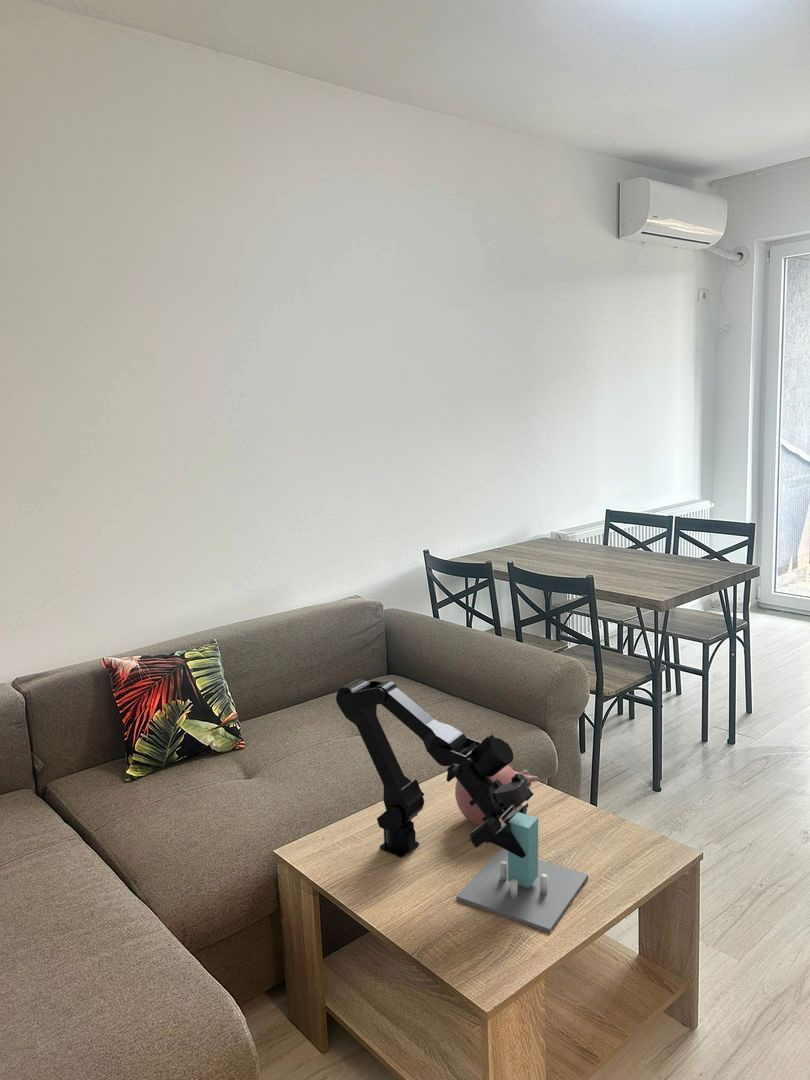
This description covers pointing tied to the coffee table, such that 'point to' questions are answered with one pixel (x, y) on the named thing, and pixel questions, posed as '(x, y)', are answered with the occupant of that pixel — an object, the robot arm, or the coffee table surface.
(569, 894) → the peg plate
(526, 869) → the teal block
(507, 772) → the balloon
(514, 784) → the robot arm
